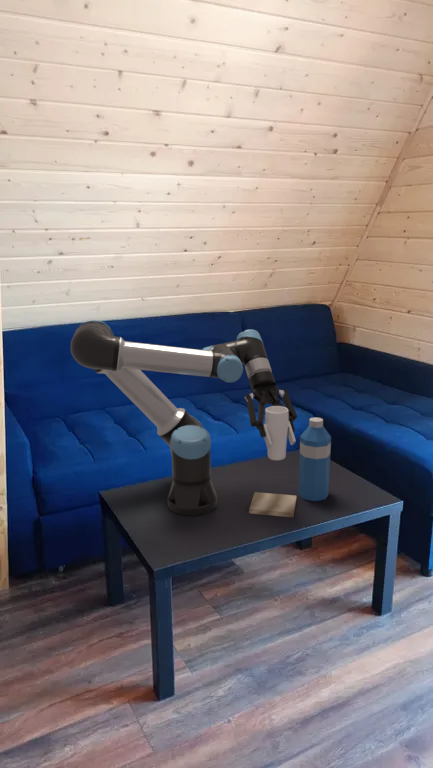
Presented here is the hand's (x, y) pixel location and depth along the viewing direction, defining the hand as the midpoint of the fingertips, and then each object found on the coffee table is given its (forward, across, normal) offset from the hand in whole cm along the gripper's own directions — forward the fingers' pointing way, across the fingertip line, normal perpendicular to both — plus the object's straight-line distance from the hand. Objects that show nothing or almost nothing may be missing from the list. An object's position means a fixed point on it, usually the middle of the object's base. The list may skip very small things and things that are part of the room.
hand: (281, 444), depth 167 cm
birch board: (+13, +1, -18) cm, 22 cm away
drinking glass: (+1, 0, -6) cm, 7 cm away
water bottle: (+10, -14, -20) cm, 27 cm away
